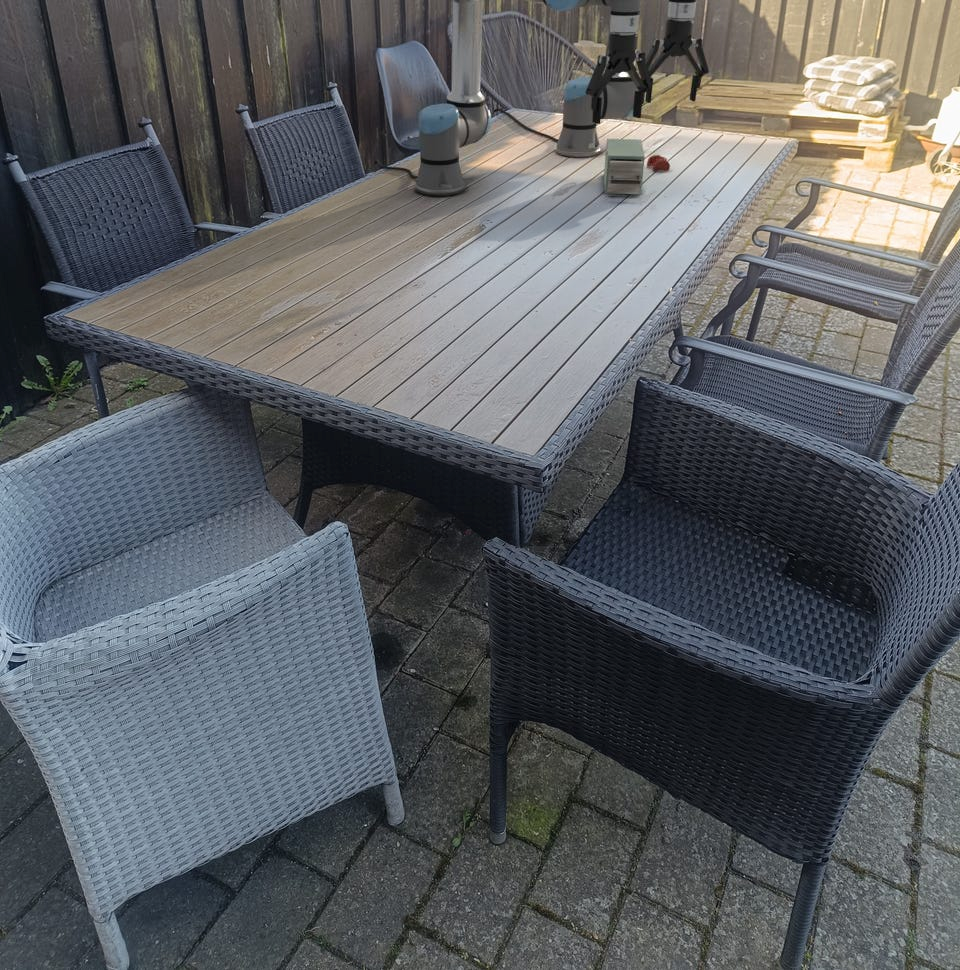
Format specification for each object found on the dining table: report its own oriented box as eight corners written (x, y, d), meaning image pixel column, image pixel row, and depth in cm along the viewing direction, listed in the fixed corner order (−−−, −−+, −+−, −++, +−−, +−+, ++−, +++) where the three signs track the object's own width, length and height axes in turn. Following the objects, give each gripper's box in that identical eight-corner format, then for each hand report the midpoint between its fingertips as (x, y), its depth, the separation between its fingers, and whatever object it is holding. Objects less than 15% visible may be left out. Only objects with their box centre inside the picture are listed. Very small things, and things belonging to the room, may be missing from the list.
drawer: (640, 199, 247) (643, 167, 242) (607, 198, 248) (610, 166, 243) (636, 176, 267) (639, 146, 261) (606, 175, 267) (608, 145, 262)
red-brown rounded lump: (661, 151, 278) (672, 157, 272) (660, 164, 281) (670, 171, 275) (646, 153, 277) (656, 159, 271) (645, 166, 280) (654, 173, 274)
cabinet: (640, 194, 254) (644, 156, 248) (604, 193, 255) (608, 155, 249) (637, 175, 271) (641, 139, 264) (603, 175, 271) (606, 138, 265)
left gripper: (592, 38, 211) (586, 128, 224) (670, 31, 221) (661, 117, 233) (575, 34, 217) (571, 122, 229) (653, 27, 226) (644, 112, 239)
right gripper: (641, 21, 229) (633, 105, 242) (728, 19, 233) (715, 102, 245) (633, 18, 235) (625, 99, 248) (717, 16, 239) (705, 97, 251)
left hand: (616, 120), depth 231 cm, fingers open, 13 cm apart
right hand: (670, 101), depth 247 cm, fingers open, 13 cm apart
